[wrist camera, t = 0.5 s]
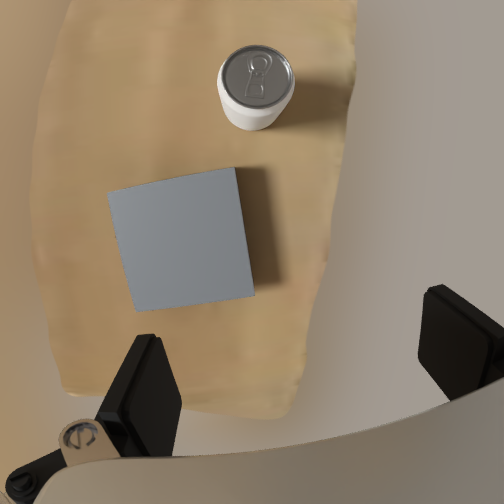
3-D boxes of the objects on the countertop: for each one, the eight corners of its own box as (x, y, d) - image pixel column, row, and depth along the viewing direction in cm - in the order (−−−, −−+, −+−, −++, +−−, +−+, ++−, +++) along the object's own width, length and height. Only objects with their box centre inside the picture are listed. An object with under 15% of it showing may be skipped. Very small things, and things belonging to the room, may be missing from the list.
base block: (119, 190, 36) (107, 192, 32) (234, 167, 35) (234, 167, 32) (145, 298, 39) (136, 312, 35) (253, 283, 39) (255, 295, 35)
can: (283, 82, 33) (303, 47, 21) (276, 135, 35) (293, 120, 23) (227, 75, 33) (222, 36, 21) (219, 127, 34) (209, 109, 23)
